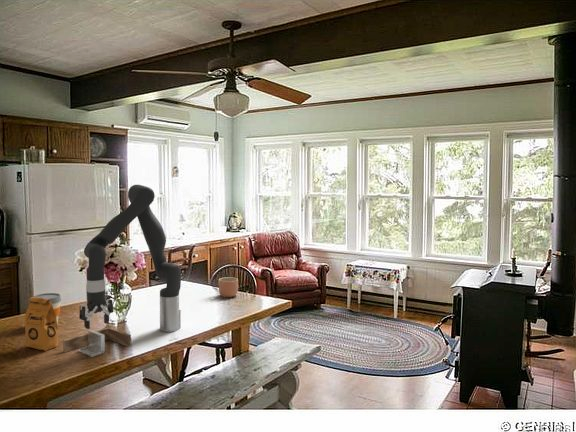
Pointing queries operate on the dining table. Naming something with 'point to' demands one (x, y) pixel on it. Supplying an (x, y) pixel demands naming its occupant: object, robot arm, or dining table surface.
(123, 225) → the robot arm
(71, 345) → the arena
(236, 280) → the planter
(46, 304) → the coffee package
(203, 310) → the dining table surface
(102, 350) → the angle bracket
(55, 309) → the reusable coffee cup
